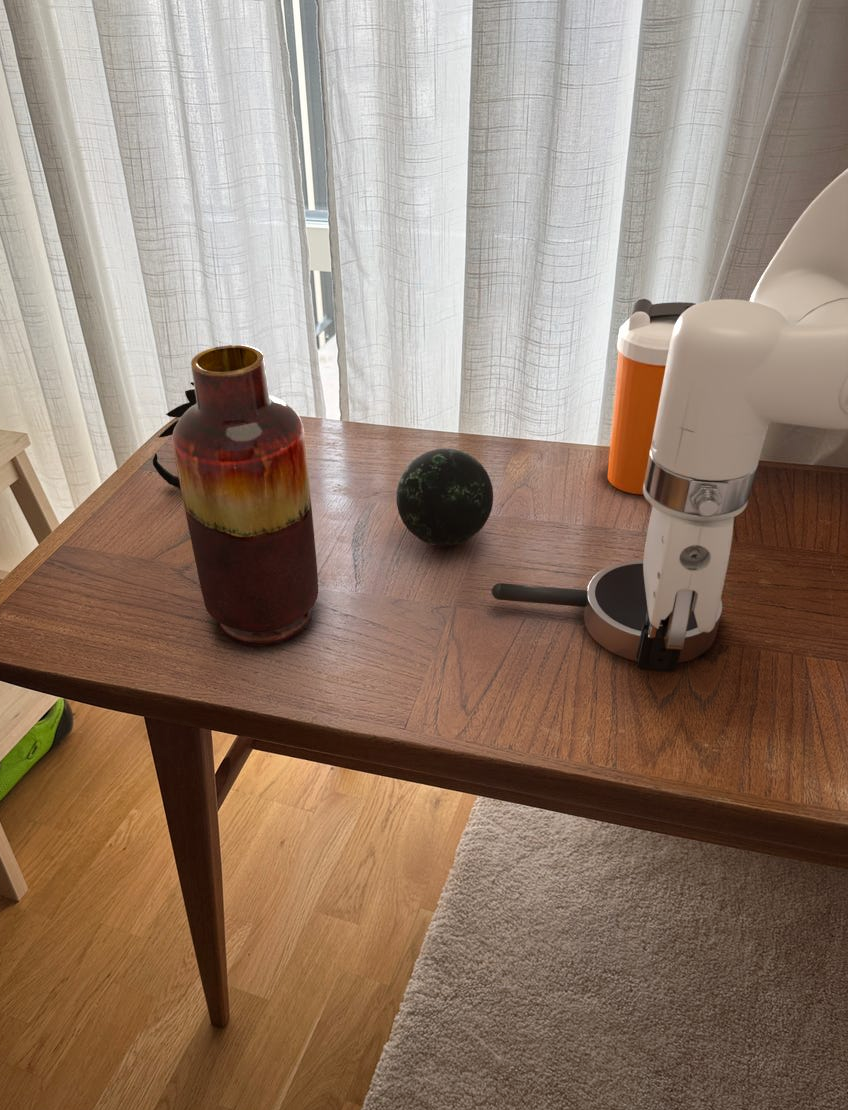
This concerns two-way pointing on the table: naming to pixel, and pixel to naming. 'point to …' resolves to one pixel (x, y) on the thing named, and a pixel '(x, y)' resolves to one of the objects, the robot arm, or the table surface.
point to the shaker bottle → (639, 389)
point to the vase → (247, 499)
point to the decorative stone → (444, 497)
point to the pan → (611, 609)
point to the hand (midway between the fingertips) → (655, 664)
